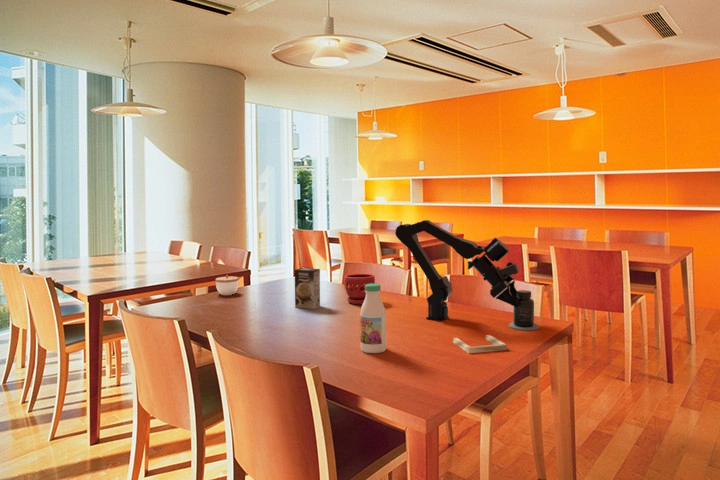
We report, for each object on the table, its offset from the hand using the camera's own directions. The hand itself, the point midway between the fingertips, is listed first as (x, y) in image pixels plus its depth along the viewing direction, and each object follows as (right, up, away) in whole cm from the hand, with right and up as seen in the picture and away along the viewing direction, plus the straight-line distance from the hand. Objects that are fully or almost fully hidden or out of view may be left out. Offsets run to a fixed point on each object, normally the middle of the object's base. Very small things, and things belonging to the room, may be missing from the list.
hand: (519, 303), depth 171 cm
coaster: (+2, -8, 0) cm, 8 cm away
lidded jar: (-119, -4, +65) cm, 136 cm away
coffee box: (-78, -6, +36) cm, 86 cm away
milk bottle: (-52, -11, -23) cm, 58 cm away
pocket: (-19, -10, -20) cm, 30 cm away
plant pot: (-56, -5, +44) cm, 71 cm away
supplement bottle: (+1, -8, 0) cm, 8 cm away
